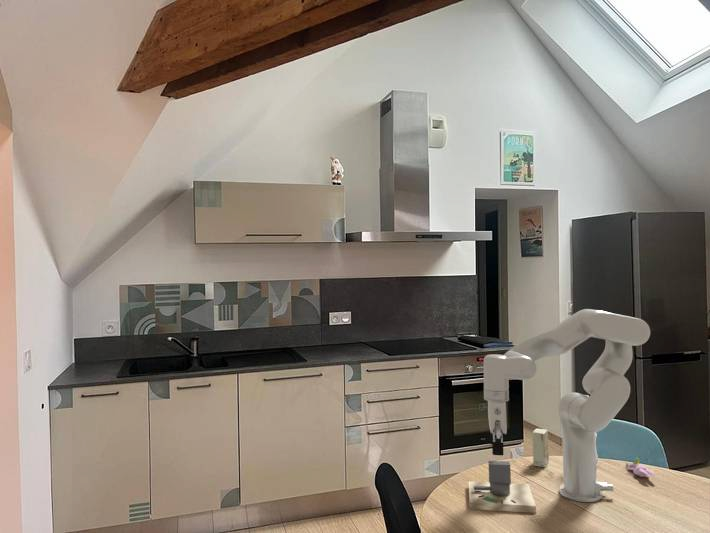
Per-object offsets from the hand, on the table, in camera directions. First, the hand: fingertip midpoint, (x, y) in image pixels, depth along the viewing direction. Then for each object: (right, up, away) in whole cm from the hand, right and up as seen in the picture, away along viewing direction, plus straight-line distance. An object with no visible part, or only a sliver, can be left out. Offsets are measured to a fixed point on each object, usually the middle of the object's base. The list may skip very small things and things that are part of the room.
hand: (496, 449), depth 162 cm
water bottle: (+40, -15, +26) cm, 50 cm away
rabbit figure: (+53, -15, +15) cm, 57 cm away
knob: (-1, -13, 0) cm, 13 cm away
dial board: (+1, -16, 0) cm, 16 cm away
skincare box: (+24, -16, +28) cm, 40 cm away
